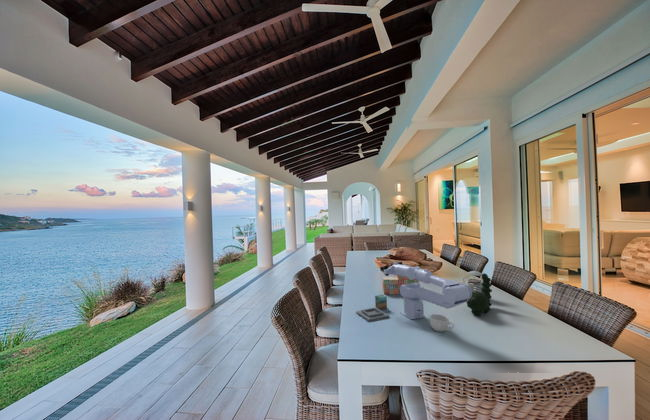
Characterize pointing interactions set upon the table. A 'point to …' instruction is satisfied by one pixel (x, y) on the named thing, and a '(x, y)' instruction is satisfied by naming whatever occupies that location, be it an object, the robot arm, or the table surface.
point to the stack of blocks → (395, 284)
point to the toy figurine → (481, 298)
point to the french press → (474, 281)
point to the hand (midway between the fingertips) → (386, 267)
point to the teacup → (440, 322)
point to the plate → (372, 314)
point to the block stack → (381, 302)
